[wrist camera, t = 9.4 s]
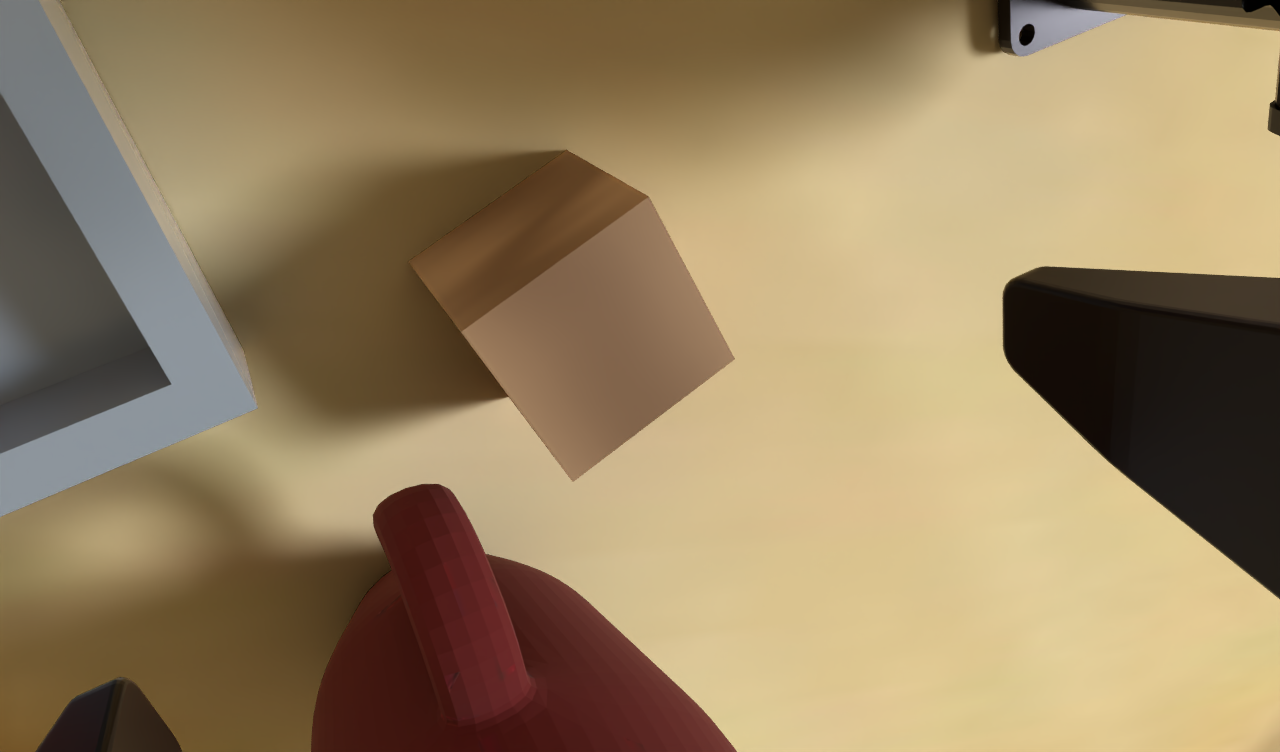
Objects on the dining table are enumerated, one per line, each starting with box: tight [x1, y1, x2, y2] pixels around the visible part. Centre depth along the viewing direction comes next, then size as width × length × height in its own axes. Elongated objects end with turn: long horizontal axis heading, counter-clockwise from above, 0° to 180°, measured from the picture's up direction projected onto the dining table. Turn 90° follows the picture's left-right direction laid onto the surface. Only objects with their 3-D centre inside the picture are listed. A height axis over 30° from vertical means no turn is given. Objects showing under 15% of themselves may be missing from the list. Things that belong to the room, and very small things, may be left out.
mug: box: [311, 484, 737, 752], centre depth 18 cm, size 11×8×10 cm
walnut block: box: [408, 150, 735, 481], centre depth 19 cm, size 4×4×4 cm
